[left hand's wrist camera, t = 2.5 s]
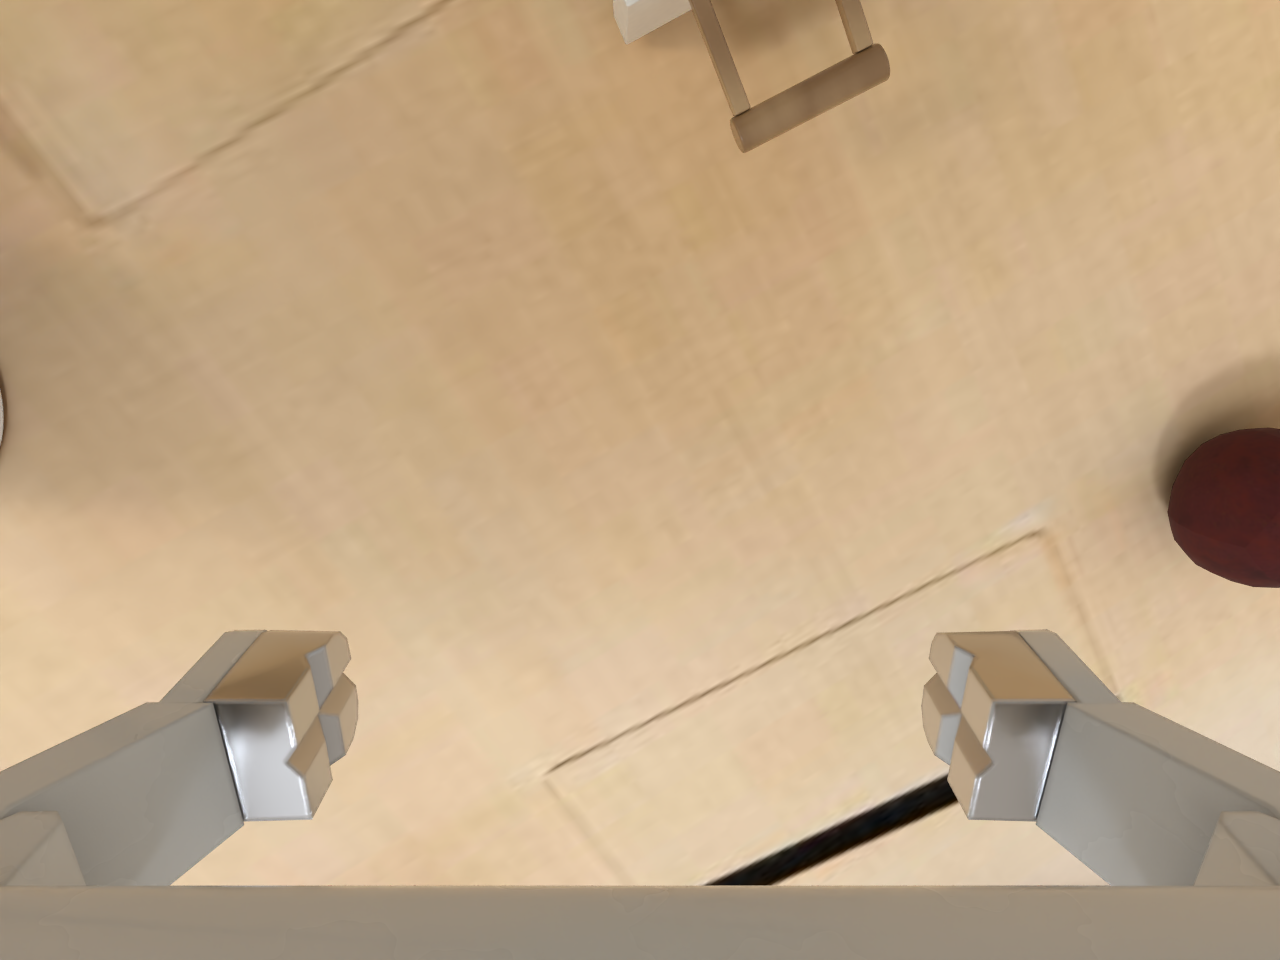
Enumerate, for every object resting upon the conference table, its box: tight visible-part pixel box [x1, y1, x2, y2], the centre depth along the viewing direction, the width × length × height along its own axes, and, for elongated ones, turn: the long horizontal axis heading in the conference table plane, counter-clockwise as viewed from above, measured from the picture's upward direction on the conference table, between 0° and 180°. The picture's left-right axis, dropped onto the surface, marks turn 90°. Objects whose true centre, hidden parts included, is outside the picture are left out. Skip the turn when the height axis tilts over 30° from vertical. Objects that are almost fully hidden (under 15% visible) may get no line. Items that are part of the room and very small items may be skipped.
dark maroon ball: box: [1168, 428, 1280, 588], centre depth 35 cm, size 7×8×7 cm
